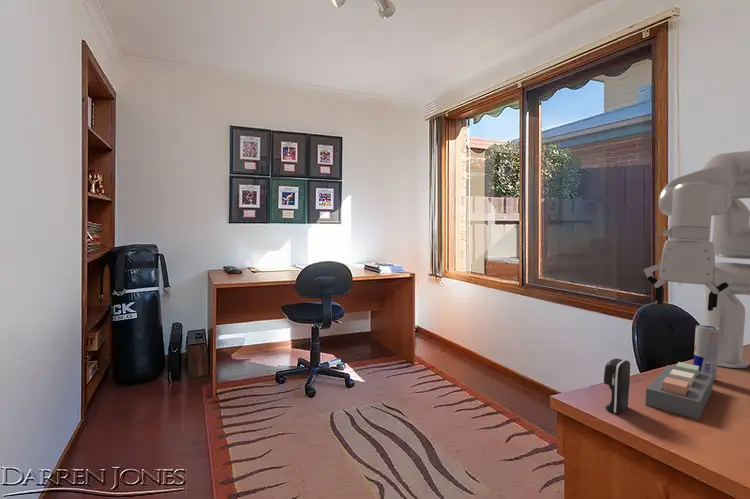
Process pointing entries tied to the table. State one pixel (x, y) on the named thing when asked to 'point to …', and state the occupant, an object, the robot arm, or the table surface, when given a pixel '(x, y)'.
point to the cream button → (682, 376)
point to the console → (679, 403)
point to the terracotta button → (675, 386)
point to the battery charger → (618, 384)
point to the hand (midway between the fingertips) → (684, 306)
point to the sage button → (688, 368)
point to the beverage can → (706, 349)
